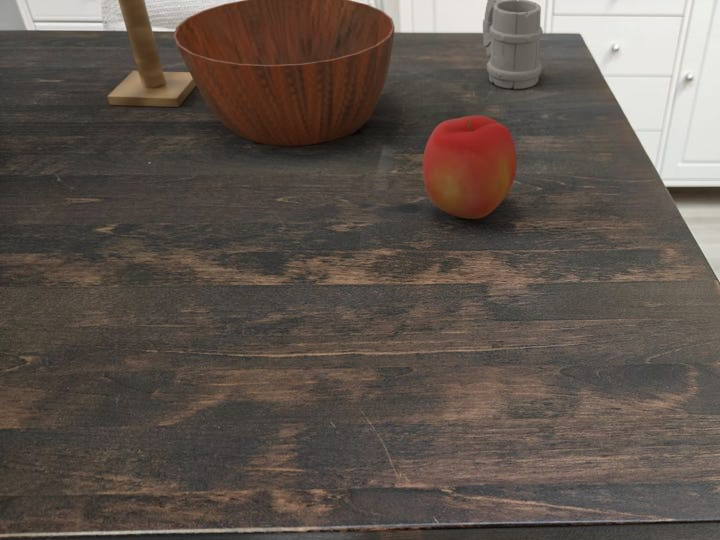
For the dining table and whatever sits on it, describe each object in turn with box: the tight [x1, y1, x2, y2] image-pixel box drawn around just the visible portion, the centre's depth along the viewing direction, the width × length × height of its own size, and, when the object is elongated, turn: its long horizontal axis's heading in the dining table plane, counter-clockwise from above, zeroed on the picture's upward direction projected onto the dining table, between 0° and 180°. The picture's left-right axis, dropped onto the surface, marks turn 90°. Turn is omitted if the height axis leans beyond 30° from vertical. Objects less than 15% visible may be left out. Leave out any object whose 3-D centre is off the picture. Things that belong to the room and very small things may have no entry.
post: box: [107, 0, 197, 108], centre depth 94 cm, size 9×9×16 cm
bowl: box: [172, 0, 395, 147], centre depth 90 cm, size 25×25×11 cm
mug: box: [482, 0, 544, 90], centre depth 103 cm, size 8×12×12 cm, turn 31°
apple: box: [422, 115, 518, 220], centre depth 74 cm, size 10×10×10 cm
